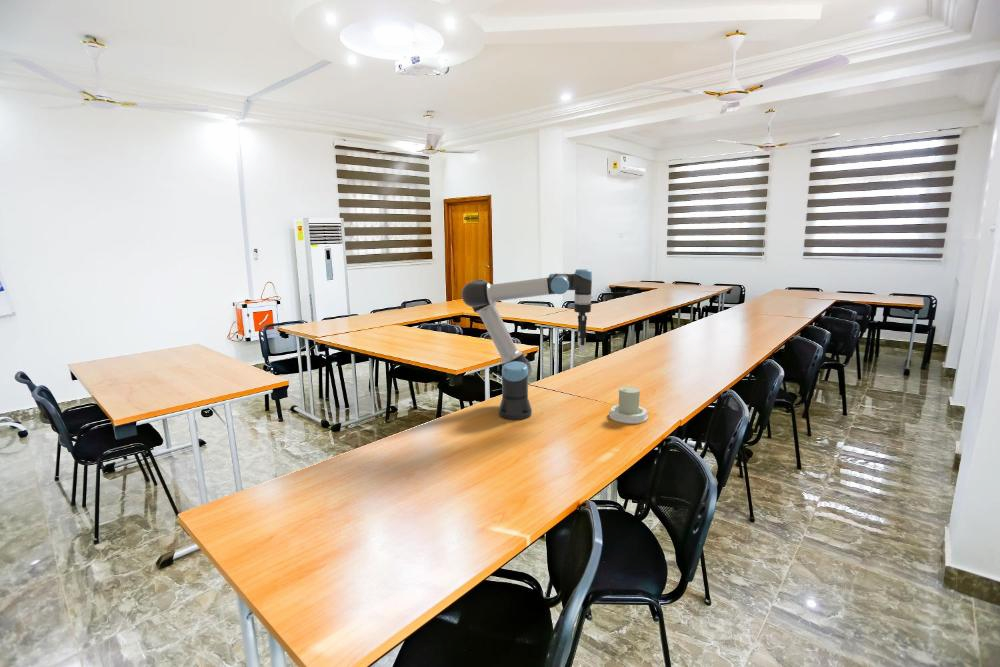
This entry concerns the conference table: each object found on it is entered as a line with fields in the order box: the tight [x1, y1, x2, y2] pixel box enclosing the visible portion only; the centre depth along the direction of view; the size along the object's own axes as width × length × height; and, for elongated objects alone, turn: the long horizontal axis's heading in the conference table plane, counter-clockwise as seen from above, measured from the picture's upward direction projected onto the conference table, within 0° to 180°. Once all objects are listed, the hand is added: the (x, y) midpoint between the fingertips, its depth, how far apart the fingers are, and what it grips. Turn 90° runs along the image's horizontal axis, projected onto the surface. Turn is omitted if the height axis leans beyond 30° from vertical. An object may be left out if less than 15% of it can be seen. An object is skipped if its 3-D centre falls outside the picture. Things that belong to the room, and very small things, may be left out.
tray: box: [608, 404, 649, 425], centre depth 222 cm, size 17×17×3 cm
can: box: [618, 386, 641, 415], centre depth 221 cm, size 9×9×12 cm
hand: (581, 348), depth 231 cm, fingers open, 13 cm apart
